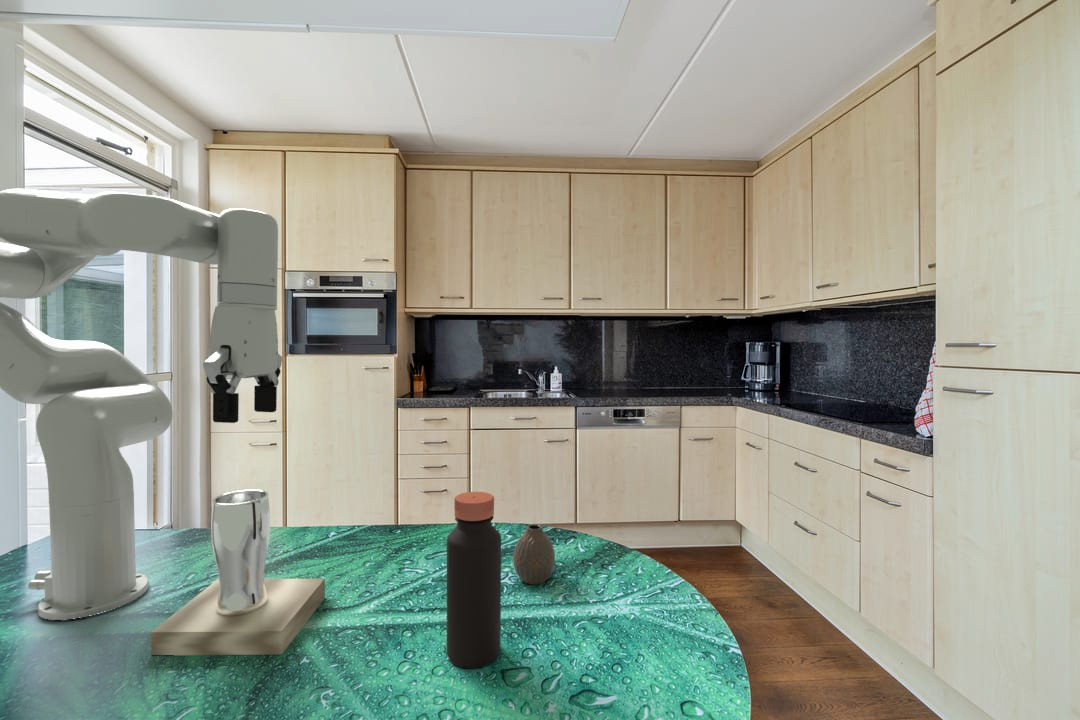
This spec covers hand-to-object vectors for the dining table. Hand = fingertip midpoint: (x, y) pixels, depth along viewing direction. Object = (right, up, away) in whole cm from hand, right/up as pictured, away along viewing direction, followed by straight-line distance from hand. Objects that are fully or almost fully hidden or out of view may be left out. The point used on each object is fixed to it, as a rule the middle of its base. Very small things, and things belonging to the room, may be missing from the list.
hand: (246, 416), depth 75 cm
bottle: (+34, -29, -10) cm, 46 cm away
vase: (+42, -28, +11) cm, 51 cm away
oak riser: (+2, -28, -4) cm, 29 cm away
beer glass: (+2, -26, -4) cm, 26 cm away
